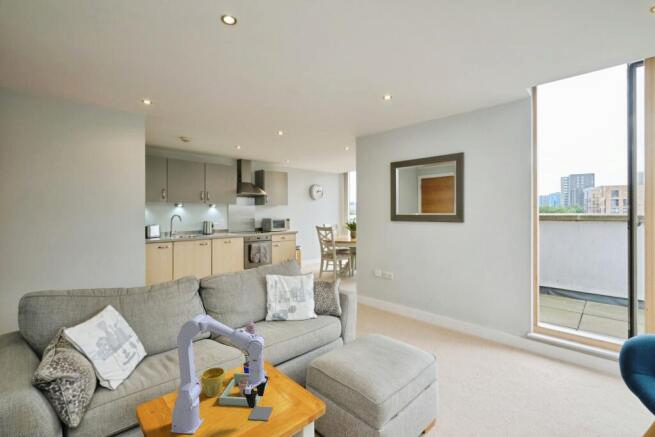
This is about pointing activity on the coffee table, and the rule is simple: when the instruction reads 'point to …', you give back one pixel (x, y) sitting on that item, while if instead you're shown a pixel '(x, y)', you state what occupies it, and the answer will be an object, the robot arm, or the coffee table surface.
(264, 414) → the slate pad
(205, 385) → the plant pot
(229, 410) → the coffee table surface
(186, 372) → the robot arm
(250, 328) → the hyacinth
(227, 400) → the frame
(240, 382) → the terracotta pot
